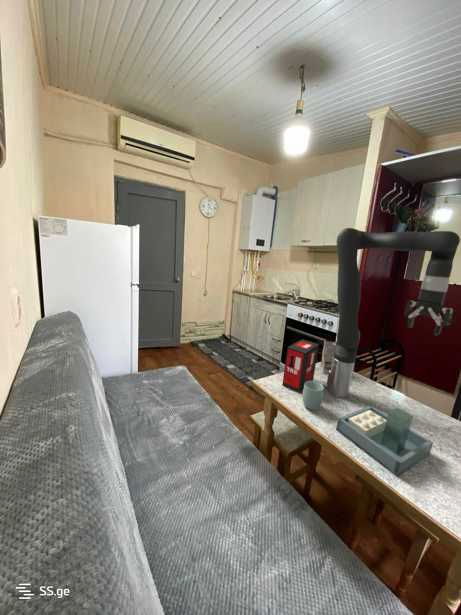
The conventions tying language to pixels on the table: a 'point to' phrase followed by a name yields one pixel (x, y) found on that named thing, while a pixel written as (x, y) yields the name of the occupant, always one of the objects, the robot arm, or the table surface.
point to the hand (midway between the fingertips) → (422, 331)
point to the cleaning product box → (300, 364)
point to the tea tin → (396, 430)
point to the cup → (312, 394)
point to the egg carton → (368, 423)
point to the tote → (395, 463)
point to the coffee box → (327, 356)
